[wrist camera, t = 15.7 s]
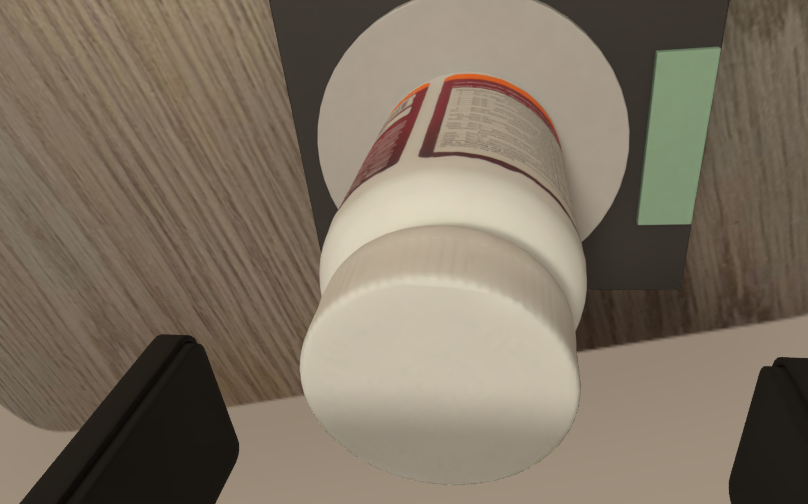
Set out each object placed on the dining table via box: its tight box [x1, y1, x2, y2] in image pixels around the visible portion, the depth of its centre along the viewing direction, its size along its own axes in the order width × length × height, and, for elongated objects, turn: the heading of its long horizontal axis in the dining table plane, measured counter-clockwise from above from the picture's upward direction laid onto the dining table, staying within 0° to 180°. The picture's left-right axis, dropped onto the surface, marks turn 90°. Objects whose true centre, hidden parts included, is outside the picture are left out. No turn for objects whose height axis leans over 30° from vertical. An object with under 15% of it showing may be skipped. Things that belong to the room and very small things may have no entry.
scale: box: [269, 0, 730, 290], centre depth 21 cm, size 14×12×3 cm
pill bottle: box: [300, 72, 587, 485], centre depth 15 cm, size 6×6×11 cm
